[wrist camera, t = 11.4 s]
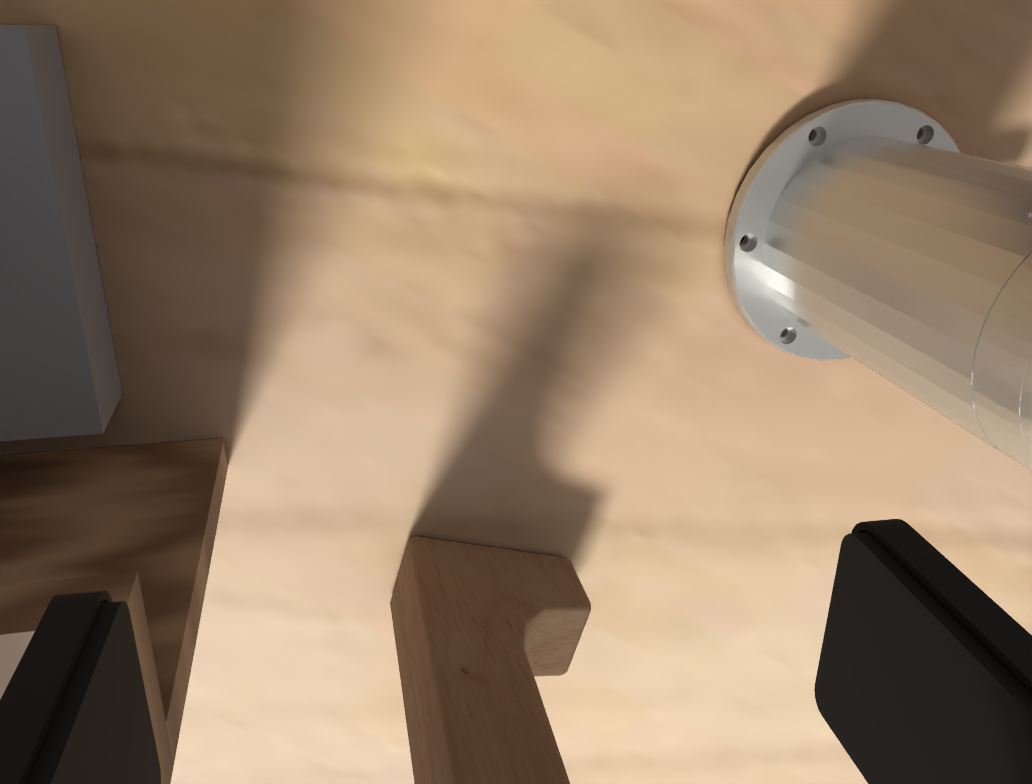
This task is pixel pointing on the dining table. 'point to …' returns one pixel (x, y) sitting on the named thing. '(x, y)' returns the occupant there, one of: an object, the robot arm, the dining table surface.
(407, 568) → the wooden block
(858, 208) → the robot arm
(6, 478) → the brown notched wall
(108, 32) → the dining table surface
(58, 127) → the socket block
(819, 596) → the dining table surface
